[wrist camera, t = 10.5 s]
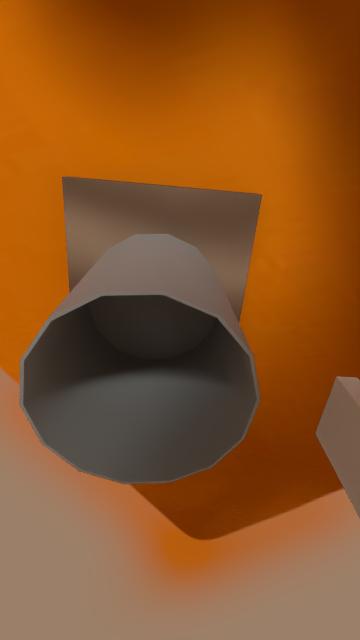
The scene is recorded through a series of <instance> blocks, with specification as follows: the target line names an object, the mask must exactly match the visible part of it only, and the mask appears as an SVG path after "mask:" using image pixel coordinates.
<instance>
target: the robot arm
mask: <svg viewBox="0 0 360 640" xmlns="http://www.w3.org/2000/svg"><path fill="white" fill-rule="evenodd" d="M315 434H316V436H317V438H318V440H319V442H320V444H321V446H322V447H323V449H324V451H325V453H326V455H327V457H328V459H329V461H330V463H331V464H332V466H333V468H334V470H335V472H336V474H337V476H338V478H339V480H340V482H341V483H342V485H343V487H344V489H345V491H346V493H347V495H348V497H349V499H350V500H351V502H352V504H353V506H354V508H355V510H356V512H357V514H358V516H359V518H360V380H359V379H358V378H357V377H340V376H336V378H335V381H334V384H333V387H332V389H331V392H330V395H329V398H328V400H327V403H326V406H325V408H324V411H323V414H322V417H321V419H320V422H319V425H318V427H317V430H316V433H315Z"/></svg>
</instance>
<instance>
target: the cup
mask: <svg viewBox="0 0 360 640" xmlns="http://www.w3.org/2000/svg"><path fill="white" fill-rule="evenodd" d="M260 400H261V399H260V393H259V387H258V381H257V375H256V369H255V363H254V357H253V353H252V351H251V349H250V347H249V345H248V342H247V340H246V338H245V336H244V333H243V331H242V329H241V327H240V325H239V322H238V320H237V318H236V316H235V314H234V311H233V309H232V307H231V305H230V303H229V300H228V298H227V296H226V294H225V292H224V289H223V287H222V285H221V283H220V280H219V278H218V276H217V274H216V272H215V270H214V269H213V268H212V266H211V265H210V264H209V263H208V261H207V260H206V259H205V257H204V256H203V255H202V254H201V252H200V251H199V250H198V249H197V247H195V246H192V245H190V244H188V243H186V242H184V241H182V240H180V239H178V238H176V237H173V236H171V235H169V234H135V235H133V236H131V237H129V238H128V239H126V240H124V241H122V242H120V243H118V244H116V245H114V246H112V247H110V248H108V249H107V250H106V252H105V253H104V254H103V255H102V256H101V257H100V259H99V260H98V261H97V262H96V263H95V264H94V265H93V267H92V268H91V269H90V270H89V271H88V272H87V274H86V275H85V276H84V277H83V278H82V279H81V281H80V282H79V283H78V284H77V285H76V286H75V287H74V289H73V290H72V291H71V292H70V293H69V294H68V296H67V297H66V298H65V299H64V300H63V301H62V303H61V304H60V305H59V306H58V307H57V308H56V309H55V311H54V312H53V313H52V314H51V315H50V316H49V318H48V319H47V320H46V322H45V323H44V325H43V326H42V328H41V329H40V331H39V332H38V334H37V335H36V337H35V338H34V340H33V341H32V343H31V344H30V346H29V347H28V349H27V350H26V352H25V353H24V355H23V356H22V358H21V359H20V407H21V408H22V410H23V412H24V414H25V415H26V417H27V419H28V421H29V422H30V424H31V426H32V428H33V429H34V431H35V433H36V435H37V436H38V438H39V440H40V442H41V443H42V444H43V445H44V446H45V447H47V448H48V449H49V450H51V451H52V452H54V453H55V454H56V455H58V456H59V457H60V458H62V459H63V460H65V461H66V462H67V463H69V464H70V465H71V466H73V467H74V468H76V469H77V470H78V471H81V472H84V473H87V474H91V475H94V476H98V477H101V478H105V479H108V480H112V481H115V482H119V483H122V484H148V483H171V482H174V481H177V480H180V479H182V478H185V477H188V476H190V475H193V474H196V473H199V472H201V471H204V470H207V469H210V468H212V467H214V466H215V465H216V464H217V463H218V462H219V461H220V460H221V459H223V458H224V457H225V456H226V455H227V454H228V453H229V452H230V451H232V450H233V449H234V448H235V447H236V446H237V445H238V444H239V443H241V442H242V441H243V440H244V439H245V437H246V435H247V432H248V430H249V427H250V425H251V422H252V420H253V417H254V415H255V412H256V410H257V407H258V405H259V402H260Z"/></svg>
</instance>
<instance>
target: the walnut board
mask: <svg viewBox="0 0 360 640" xmlns="http://www.w3.org/2000/svg"><path fill="white" fill-rule="evenodd" d="M62 181H63V196H64V212H65V227H66V242H67V258H68V273H69V288H70V292H71V291H72V290H73V289H74V287H75V286H76V285H77V284H78V283H79V282H80V281H81V279H82V278H83V277H84V276H85V275H86V274H87V272H88V271H89V270H90V269H91V268H92V267H93V265H94V264H95V263H96V262H97V261H98V260H99V259H100V257H101V256H102V255H103V254H104V253H105V252H106V250H107V249H108V248H110V247H112V246H114V245H116V244H118V243H120V242H122V241H124V240H126V239H128V238H129V237H131V236H133V235H135V234H169V235H171V236H173V237H176V238H178V239H180V240H182V241H184V242H186V243H188V244H190V245H192V246H195V247H197V249H198V250H199V251H200V252H201V254H202V255H203V256H204V257H205V259H206V260H207V261H208V263H209V264H210V265H211V266H212V268H213V269H214V270H215V272H216V274H217V276H218V278H219V280H220V283H221V285H222V287H223V289H224V292H225V294H226V296H227V298H228V300H229V303H230V305H231V307H232V309H233V311H234V314H235V316H236V318H237V320H238V322H239V320H240V314H241V309H242V303H243V298H244V292H245V287H246V281H247V275H248V270H249V264H250V259H251V253H252V248H253V242H254V237H255V231H256V225H257V220H258V214H259V209H260V203H261V198H262V195H260V194H254V193H243V192H232V191H221V190H210V189H199V188H188V187H177V186H166V185H155V184H144V183H133V182H122V181H111V180H100V179H89V178H78V177H62Z"/></svg>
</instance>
